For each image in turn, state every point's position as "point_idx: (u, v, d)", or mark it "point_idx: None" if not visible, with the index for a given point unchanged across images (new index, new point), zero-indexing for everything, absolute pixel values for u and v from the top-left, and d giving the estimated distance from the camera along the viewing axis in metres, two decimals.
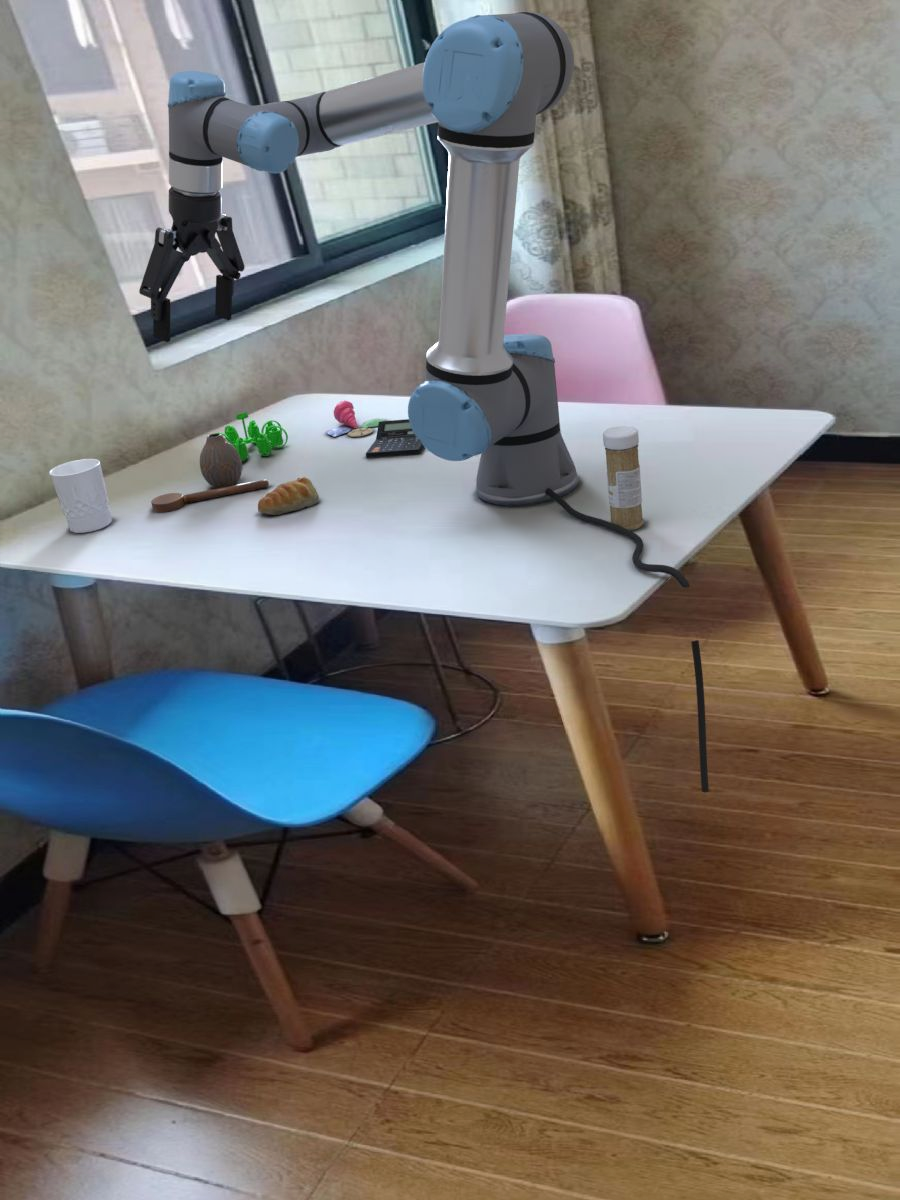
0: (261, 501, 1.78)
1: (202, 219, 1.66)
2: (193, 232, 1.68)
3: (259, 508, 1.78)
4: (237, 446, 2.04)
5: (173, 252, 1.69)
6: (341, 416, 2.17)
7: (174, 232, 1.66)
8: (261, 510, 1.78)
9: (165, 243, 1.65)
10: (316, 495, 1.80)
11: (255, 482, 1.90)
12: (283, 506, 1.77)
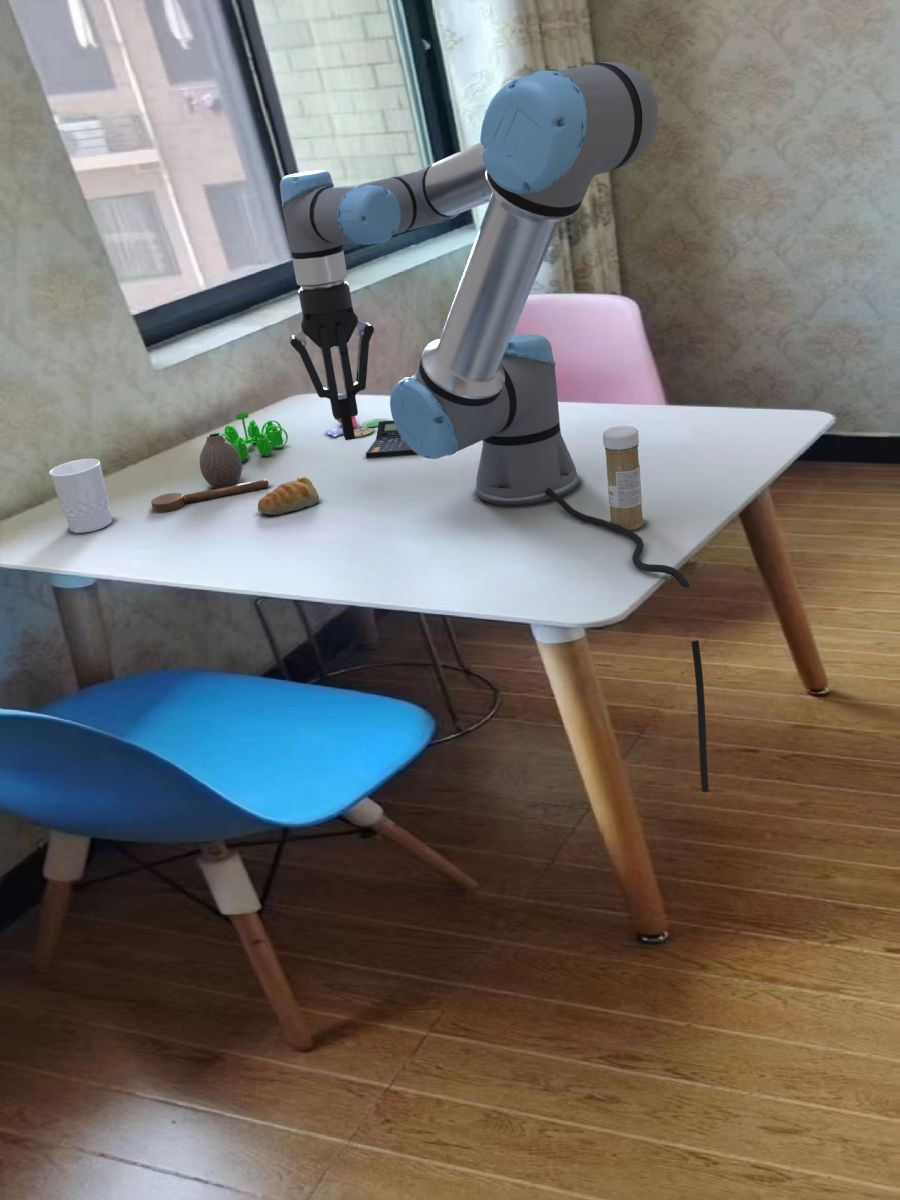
0: (261, 501, 1.78)
1: (316, 311, 1.67)
2: (318, 328, 1.70)
3: (259, 508, 1.78)
4: (237, 446, 2.04)
5: (321, 351, 1.73)
6: None
7: (300, 333, 1.71)
8: (261, 510, 1.78)
9: (296, 350, 1.71)
10: (316, 495, 1.80)
11: (255, 482, 1.90)
12: (283, 506, 1.77)
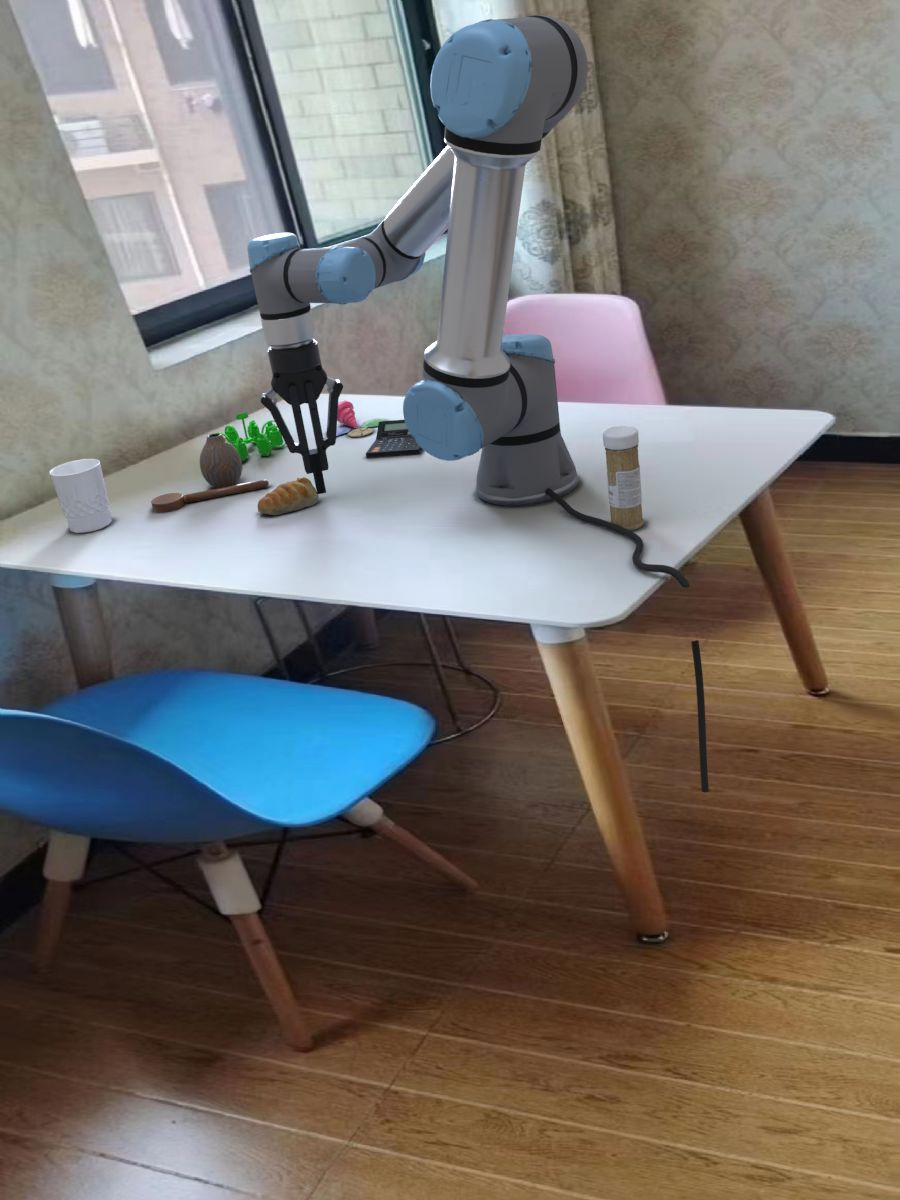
0: (261, 501, 1.78)
1: (284, 370, 1.70)
2: (287, 386, 1.73)
3: (259, 508, 1.78)
4: (237, 446, 2.04)
5: (292, 408, 1.76)
6: (341, 416, 2.17)
7: (270, 391, 1.73)
8: (260, 510, 1.78)
9: (266, 407, 1.73)
10: (316, 495, 1.80)
11: (255, 482, 1.90)
12: (283, 506, 1.77)
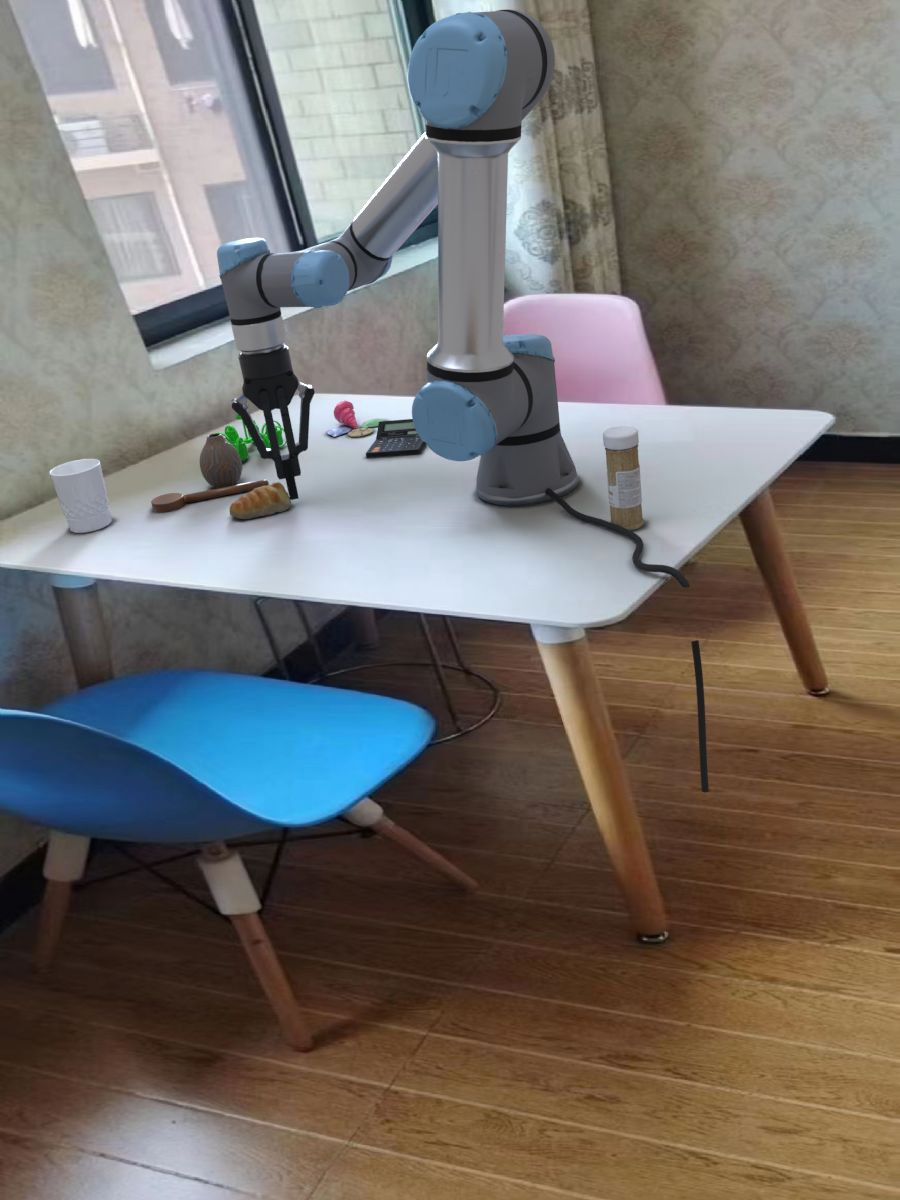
0: (232, 505, 1.79)
1: (255, 376, 1.69)
2: (258, 391, 1.72)
3: (230, 511, 1.78)
4: (237, 446, 2.04)
5: None
6: (341, 416, 2.17)
7: (241, 397, 1.72)
8: (231, 514, 1.78)
9: (237, 413, 1.73)
10: (288, 501, 1.79)
11: (255, 482, 1.90)
12: (253, 511, 1.77)
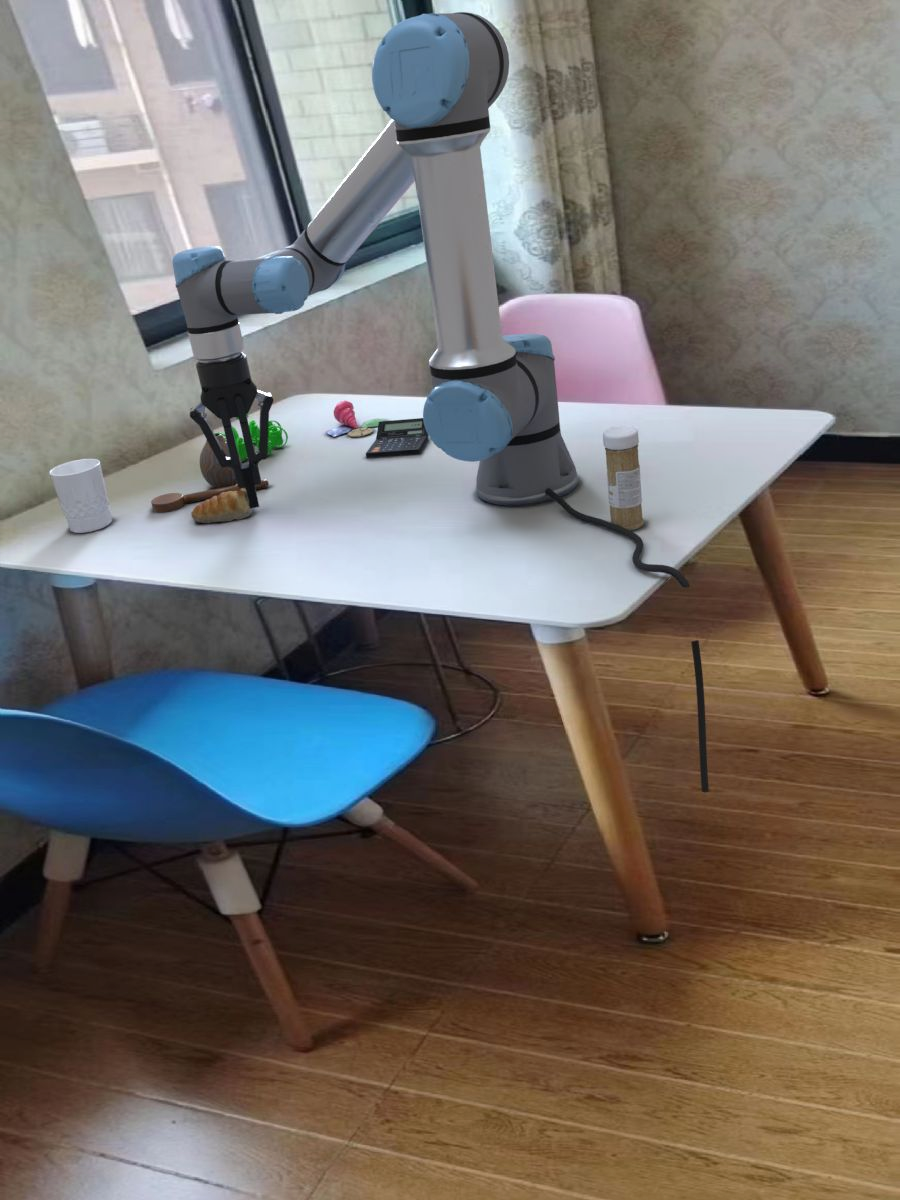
0: (195, 507, 1.80)
1: (212, 384, 1.68)
2: (216, 400, 1.71)
3: None
4: (237, 446, 2.04)
5: None
6: (341, 416, 2.17)
7: (199, 405, 1.72)
8: (192, 516, 1.80)
9: (196, 422, 1.72)
10: (246, 509, 1.78)
11: None
12: (209, 516, 1.78)
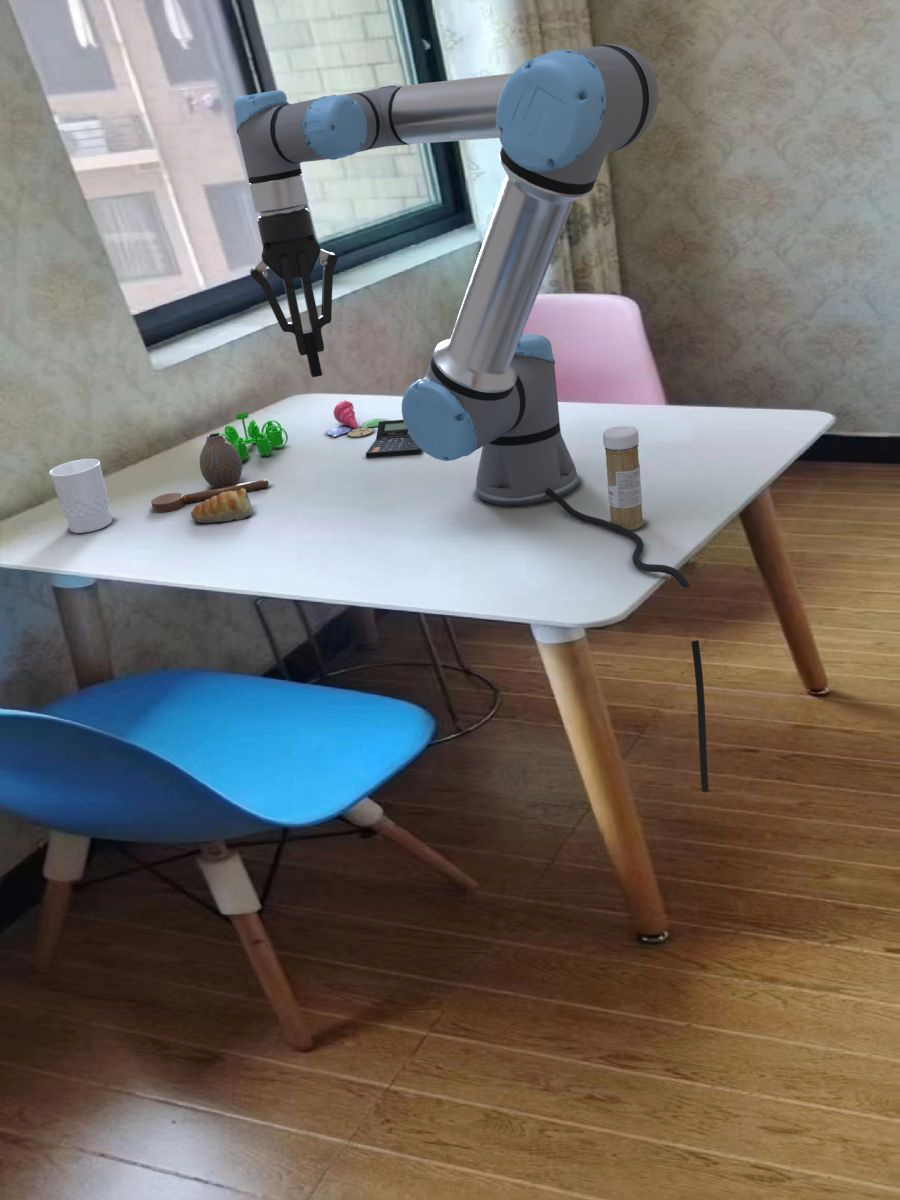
0: (195, 507, 1.80)
1: (275, 238, 1.61)
2: (279, 258, 1.64)
3: None
4: (237, 446, 2.04)
5: (284, 284, 1.67)
6: (341, 416, 2.17)
7: (260, 264, 1.64)
8: None
9: None
10: (246, 509, 1.78)
11: (255, 482, 1.90)
12: (209, 516, 1.78)
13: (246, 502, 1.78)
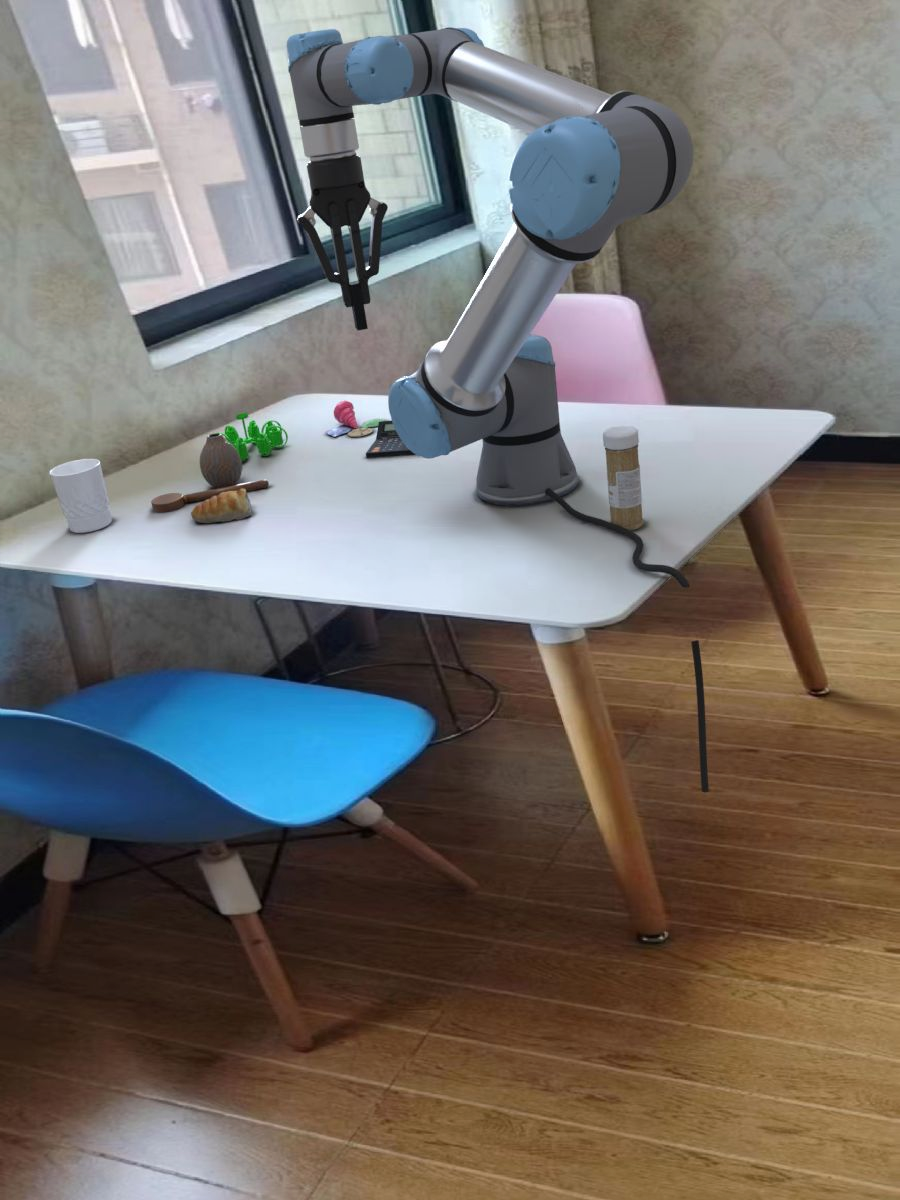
0: (195, 507, 1.80)
1: (325, 184, 1.56)
2: (327, 205, 1.59)
3: None
4: (237, 446, 2.04)
5: (331, 232, 1.62)
6: (341, 416, 2.17)
7: (308, 211, 1.59)
8: None
9: None
10: (246, 509, 1.78)
11: (255, 482, 1.90)
12: (209, 516, 1.78)
13: (246, 502, 1.78)
